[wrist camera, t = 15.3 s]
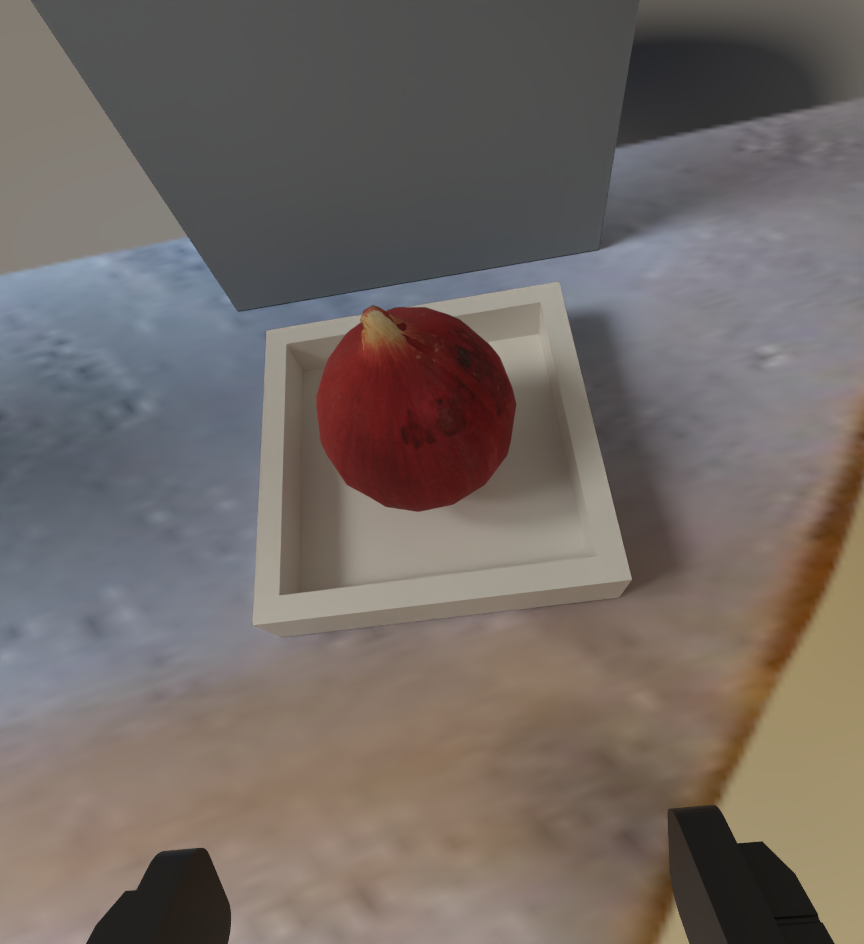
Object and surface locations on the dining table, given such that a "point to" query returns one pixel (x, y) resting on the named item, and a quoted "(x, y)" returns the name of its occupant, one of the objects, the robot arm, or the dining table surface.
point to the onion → (415, 408)
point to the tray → (446, 528)
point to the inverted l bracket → (362, 130)
